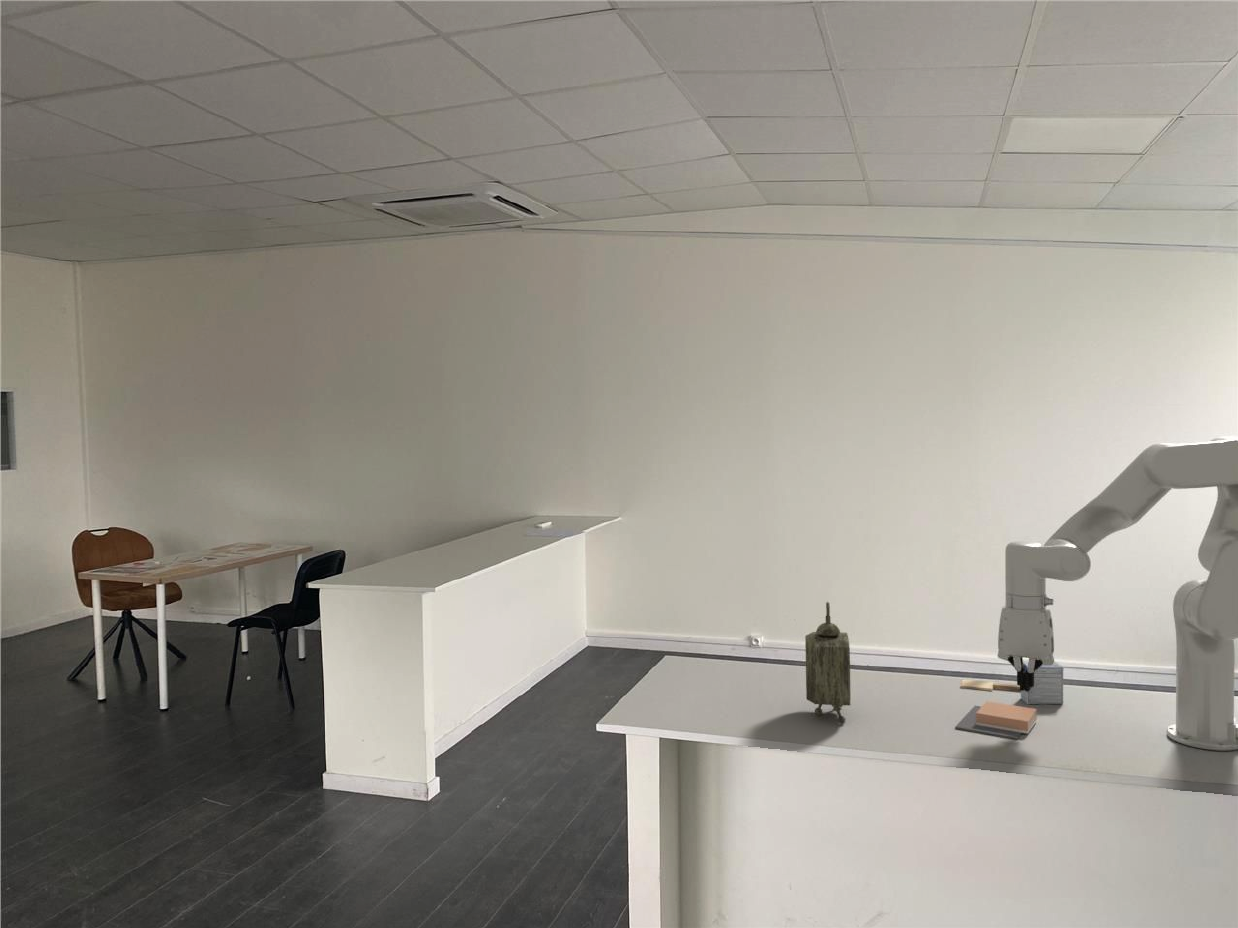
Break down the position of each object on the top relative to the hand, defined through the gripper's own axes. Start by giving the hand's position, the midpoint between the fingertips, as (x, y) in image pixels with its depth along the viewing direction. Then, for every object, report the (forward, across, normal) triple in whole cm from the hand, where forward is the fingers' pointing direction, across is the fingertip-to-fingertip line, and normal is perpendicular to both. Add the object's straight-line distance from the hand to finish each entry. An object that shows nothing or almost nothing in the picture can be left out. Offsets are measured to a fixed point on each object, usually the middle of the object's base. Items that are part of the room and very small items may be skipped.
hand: (1025, 689), depth 182 cm
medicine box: (+8, 0, -20) cm, 22 cm away
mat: (+8, +6, 0) cm, 10 cm away
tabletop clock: (+8, +38, +14) cm, 41 cm away
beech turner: (+8, +12, -25) cm, 29 cm away
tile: (+6, -1, 0) cm, 7 cm away
